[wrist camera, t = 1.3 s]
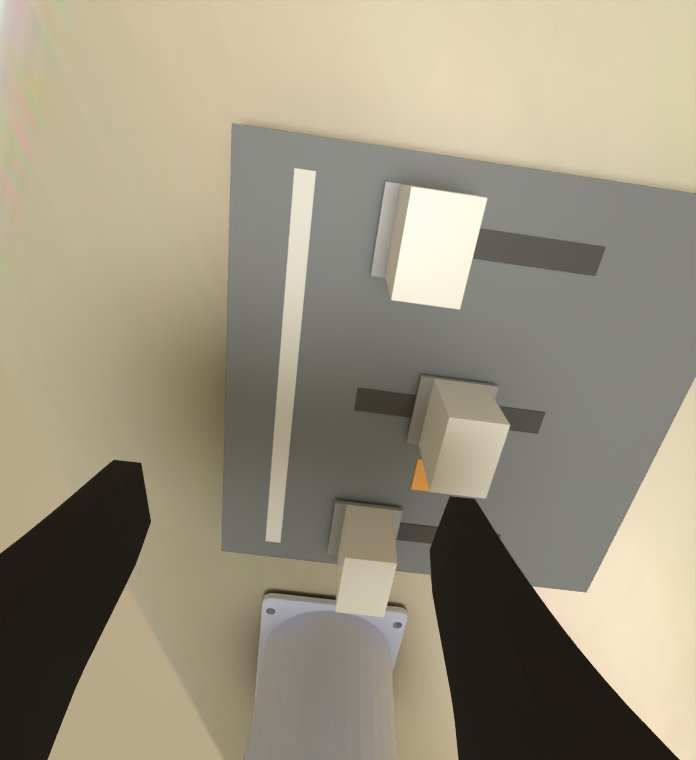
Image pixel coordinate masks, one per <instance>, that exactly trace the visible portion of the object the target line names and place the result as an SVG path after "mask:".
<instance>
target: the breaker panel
mask: <svg viewBox="0 0 696 760" xmlns="http://www.w3.org/2000/svg"><path fill="white" fill-rule="evenodd" d="M385 182H391V183H398V184H405V185H411V186H418V187H425V188H431V189H438V190H445V191H452V192H458V193H465V194H472V195H478V196H480V197H485V198H487V202H486V206H485V210H484V214H483V218H482V222H481V226H480V230H479V235H478V239H477V243H476V247H475V251H474V255H473V259H472V263H471V267H470V271H469V275H468V279H467V283H466V287H465V291H464V295H463V299H462V303H461V307H460V310H459V309H452V308H445V307H438V306H431V305H423V304H416V303H409V302H402V301H394V300H391V298H390V294H389V290H388V286H387V283H386V279H385V278H383V277H376V276H371V269H372V263H373V257H374V250H375V244H376V237H377V231H378V224H379V218H380V212H381V205H382V199H383V192H384V186H385ZM421 375H428V376H436V377H444V378H451V379H459V380H466V381H474V382H482V383H489V384H497V385H498V386H499V388H498V391H497V394H496V397H495V401H496V402H497V404H498V406H499V407H500V409H501V411H502V412H503V414H504V416H505V417H506V419H507V420H508V422H509V424H510V427H509V431H508V434H507V437H506V440H505V443H504V446H503V449H502V452H501V455H500V458H499V461H498V464H497V467H496V470H495V473H494V476H493V479H492V482H491V485H490V488H489V491H488V494H487V497H486V499H484V498H476V497H468V496H459V495H451V494H443V493H435V492H429V487H428V483H427V478H426V474H425V470H424V465H423V461H422V457H421V452H420V448H419V445H418V444H410V443H407V442H406V439H407V434H408V430H409V426H410V421H411V417H412V412H413V408H414V403H415V399H416V394H417V390H418V385H419V381H420V376H421ZM695 377H696V194H694V193H687V192H681V191H674V190H667V189H661V188H654V187H648V186H641V185H635V184H628V183H622V182H615V181H608V180H602V179H595V178H589V177H582V176H576V175H569V174H562V173H556V172H549V171H543V170H536V169H530V168H523V167H516V166H510V165H503V164H497V163H490V162H484V161H477V160H471V159H464V158H457V157H451V156H444V155H438V154H431V153H425V152H418V151H411V150H405V149H398V148H392V147H385V146H379V145H372V144H365V143H359V142H352V141H346V140H339V139H333V138H326V137H319V136H313V135H306V134H300V133H293V132H287V131H280V130H274V129H267V128H260V127H254V126H247V125H241V124H234V123H232V141H231V183H230V225H229V267H228V309H227V351H226V394H225V436H224V478H223V520H222V551H227V552H236V553H245V554H254V555H262V556H271V557H280V558H289V559H297V560H306V561H315V562H324V563H333V564H338V555H334V554H327V553H328V545H329V539H330V532H331V526H332V519H333V513H334V507H335V500H338V501H347V502H355V503H363V504H372V505H380V506H388V507H397V508H402V509H403V513H402V517H401V521H400V525H399V530H398V534H397V538H396V542H395V547H396V556H397V567H396V571H403V572H412V573H420V574H429V575H431V566H430V547H431V544H432V542H433V539H434V536H435V534H436V531H437V528H438V526H439V523H440V520H441V518H442V515H443V512H444V510H445V507H446V505H447V502H448V499H449V497H450V496H453V497H462V498H472V499H475V500H476V501H477V503H478V504H479V506H480V507H481V509H482V510H483V512H484V514H485V515H486V517H487V518H488V520H489V522H490V523H491V525H492V526H493V528H494V530H495V531H496V533H497V534H498V536H499V538H500V539H501V541H502V542H503V544H504V545H505V547H506V548H507V550H508V552H509V553H510V555H511V556H512V558H513V559H514V561H515V562H516V564H517V565H518V567H519V568H520V570H521V571H522V572H523V574H524V575H525V577H526V578H527V580H528V581H529V583H530V584H531V585H532V586H535V587H543V588H552V589H561V590H570V591H579V592H587V590H588V588H589V586H590V584H591V582H592V580H593V578H594V576H595V574H596V573H597V571H598V569H599V567H600V565H601V563H602V561H603V559H604V557H605V555H606V553H607V551H608V549H609V547H610V545H611V543H612V541H613V539H614V537H615V535H616V533H617V531H618V529H619V527H620V525H621V523H622V521H623V519H624V517H625V515H626V513H627V511H628V509H629V507H630V505H631V503H632V501H633V499H634V497H635V495H636V493H637V491H638V489H639V487H640V485H641V483H642V482H643V480H644V478H645V476H646V474H647V472H648V470H649V468H650V466H651V464H652V462H653V460H654V458H655V456H656V454H657V452H658V450H659V448H660V446H661V444H662V442H663V440H664V438H665V436H666V434H667V432H668V430H669V428H670V426H671V424H672V422H673V420H674V418H675V416H676V414H677V412H678V410H679V408H680V406H681V404H682V402H683V400H684V398H685V396H686V394H687V392H688V390H689V389H690V387H691V385H692V383H693V381H694V379H695Z"/></svg>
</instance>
